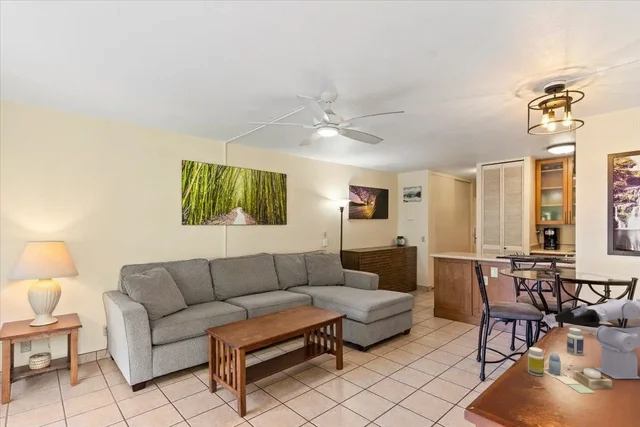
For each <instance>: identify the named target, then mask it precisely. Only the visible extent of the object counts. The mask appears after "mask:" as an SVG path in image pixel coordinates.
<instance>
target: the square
mask: <svg viewBox="0 0 640 427" xmlns="http://www.w3.org/2000/svg"><path fill="white" fill-rule="evenodd" d="M555 379H556V380H558V381H559V382H561V383H563V384H565V385H581V383H580V382H578V381H577V380H575V379H573V378H571V376H570V377H555Z"/></svg>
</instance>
